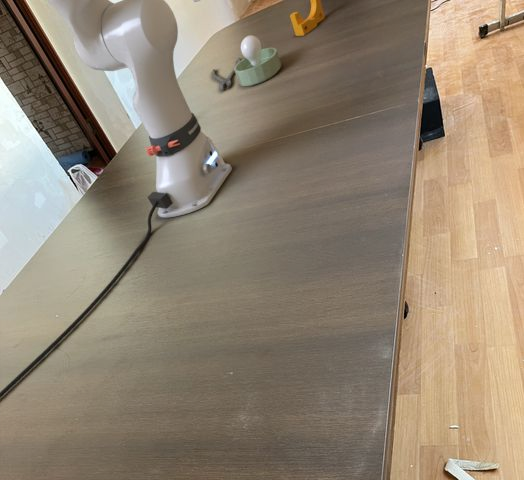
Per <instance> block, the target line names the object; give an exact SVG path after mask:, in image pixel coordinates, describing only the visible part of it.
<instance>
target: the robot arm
mask: <svg viewBox="0 0 524 480" xmlns="http://www.w3.org/2000/svg"><path fill="white" fill-rule="evenodd" d="M200 1H201V0H193V2H194V3H197V2H200ZM46 2H47V3H48V4H49V5H51V7H53V9H54V10H55V11H56V12H57V13H58V14H59V16H60V17H61V18H62V19H63V21H64V22H65V23H66V25H67V27H68V28H69V30H70V32H71V33H72V35H73V43H74V46H75V47H74V48H75V50H76V53H77V55H78V58H80V60H81V61H82V62H83V63H84V64H85V65H86V66H87V67H89V68H91V69H92V70H95V71H102V72H116V71H119V70H123V69H127V68H128V69H129V71H130V73H131V76H132V78H133V83H134V87H135V91H134V93H133V96H132V101H131V102H132V106H133V109H134V111H135V113H136V115H137V116H138V118H139V120H140V121H141V123H142V125H143V127H144V129H145V130H146V132H147V134H148V139H149V142H150V143H149V144H150V146H146V148H145V150H146V154H147V155H148V156H149V157H152V156H155V159H156V160H155V189H156V191H152V192H151V193H150V194H149V195H147V199H148V201H149V202H150V204H151V206H152V207H151V209H150V211H149V214H148V216H147V233H146V236H145V237H144V239H143V240H142V242H141V243H140V244H139V245H138V246H137V247H136V248H135V250H134V251H133V252H132V254H131V255H130V257H129V258H128V259H127V261H126V262H125V263H124V264H123V265H122V267H121V268H120V270H118V272H117V273H116V274H115V276H114V277H113V278H112V279H111V281H110V282H109V283H108V284H107V285H106V286H105V287H104V289H103V290H102V291H101V292H100V293H99V295H98V296H96V298H95V299H93V301H92V302H91V303H90V304H89V306H87V308H86V309H85V310H84V311H83V312H81V314H80V315H79V316H78V317H77V318H76V319H75V320H74V321H73V322H72V323H71V324H70V325H69V326H68V327H67V328H66V329H65V330H64V331H63V332H62V333H61V334H60V335H59V336H58V337H57V338H56V339H55V340H54V341H52V342H51V344H49V346H48V347H47V348H46V349H44V350H43V351H42V352H41V353H40V354H39V355H38V356H37V357H36V358H35V359H34V360H33V361H32V362H31V363H29V365H28V366H27V367H25V368H24V369H23V370H22V371H21V372H20V373H19V374H18V375H17V376H15V378H13V380H11V381H10V382H9V383H8V384H7V385H6V386H5V387H4V388H3V389H2V390H1V391H0V399H1V398H2V397H3V396H4V395H5V394H6V393H7V392H8V391H9V390H10V389H12V388H13V387H14V385H16V384H17V383H18V382H19V381H20V380H21V379H22V378H23V377H24V376H26V375H27V373H29V371H31V370H32V369H33V368H34V367H35V366H36V365H37V364H38V363H39V362H40V361H41V360H42V359H44V357H45V356H47V355H48V354H49V353H50V352H51V351H52V350H53V348H55V347H56V346H57V345H58V344H59V343H60V342H61V341H62V340H63V339H64V338H65V337H67V335H68V334H69V333H70V332H71V331H72V330H73V329H74V328H75V327H76V326H78V324H79V323H80V322H81V321H82V320H83V319H84V318H85V317H86V315H88V314H89V312H90V311H91V310H92V309H93V308H94V307H95V306H96V305H97V304H98V303H99V301H100V300H101V299H102V298H103V297H104V296H105V295H106V294H107V293H108V291H110V289H111V288H112V287H113V285H114V284H115V283H116V282H117V281H118V279H119V278H120V277H121V276H122V275H123V273H124V272H125V270H126V269H127V268H128V267H129V265H130V264H131V263H132V262H133V260H134V259H135V258H136V256H137V255H138V253H139V252H140V250H141V249H142V248H143V247H144V246H145V245H146V244H147V242H148V241H149V238H150V236H151V233H152V218H153V214H154V212H155V211H156V208H158V209H157V215H158V217H160V218H165V219H167V218H174V217H175V218H176V217H179V216H183V215H187V214H190V213H193V212H196V211H198V210H200V209H202V208H205V207H206V206H208V205H209V204H210V203H211V201H212V199H213V198H214V196H215V195H216V194H217V192H218V191H219V189H220V188H221V186H222V185H223V183H224V182H225V180H226V179H227V177H228V176H229V174H230V173H231V172H232V171H233V167H232V165H231V164H230V163H225V161H224V159H223V158H222V156H221V154H220V152H219V149H218V148H217V146H216V145H215V143H214V142H213V140H212V139H211V138H210V137H208V136H207V135H206V134H205V133H204V132H203V131H202V130H201V129H202V128H201V125H200V123H199V120H198V118H197V117H196V115H195V114H194V113H193V112H192V110H191V109H190V107H189V105H188V102H187V100H186V98H185V95H184V94H183V91H182V89H181V87H180V84H179V81H178V78H177V74H176V70H175V62H174V51H175V48H176V45H177V42H178V36H179V35H178V34H179V28H178V21H177V18H176V16H175V13H174V11H173V9H172V8H171V6H170V5H169V3H167V1H166V0H120V1H117V2H112V1H111V0H46Z"/></svg>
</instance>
